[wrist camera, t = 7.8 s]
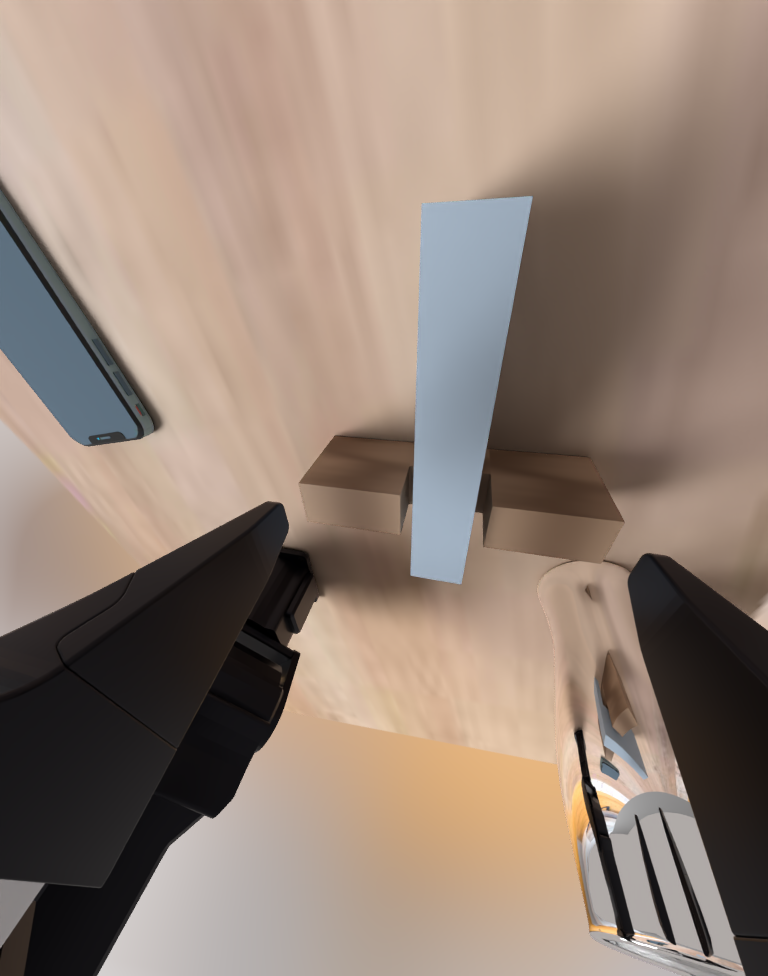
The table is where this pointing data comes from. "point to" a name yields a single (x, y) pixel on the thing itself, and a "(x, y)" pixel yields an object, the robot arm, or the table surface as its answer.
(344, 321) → the table surface
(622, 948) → the beer glass
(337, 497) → the tan wooden plank
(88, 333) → the smartphone
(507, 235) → the pale blue upright post
